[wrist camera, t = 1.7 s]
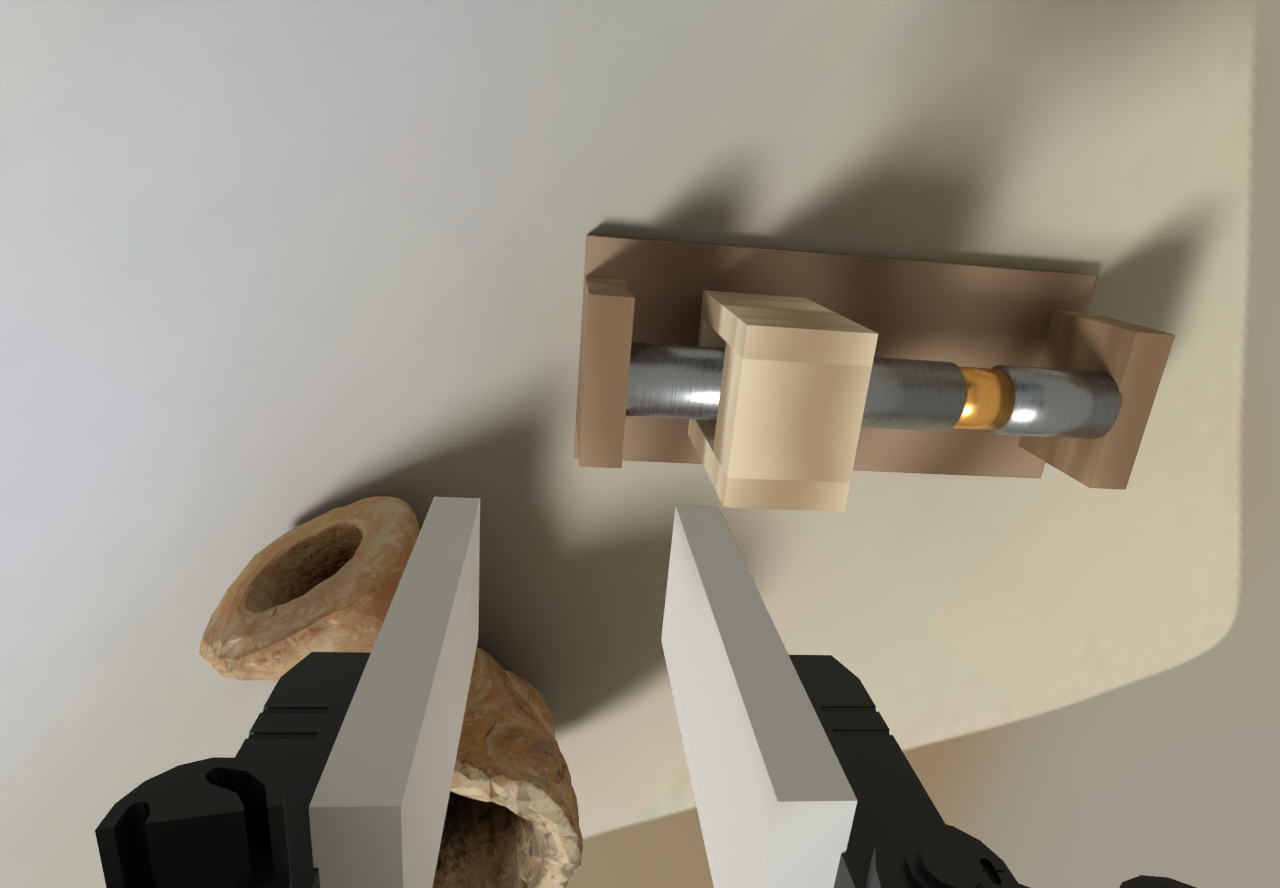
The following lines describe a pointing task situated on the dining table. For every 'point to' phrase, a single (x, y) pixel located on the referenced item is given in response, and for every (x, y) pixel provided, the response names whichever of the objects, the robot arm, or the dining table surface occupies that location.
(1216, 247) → the dining table surface
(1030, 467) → the cradle
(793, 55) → the dining table surface
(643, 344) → the rod
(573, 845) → the pipe
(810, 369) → the collar
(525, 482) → the dining table surface
